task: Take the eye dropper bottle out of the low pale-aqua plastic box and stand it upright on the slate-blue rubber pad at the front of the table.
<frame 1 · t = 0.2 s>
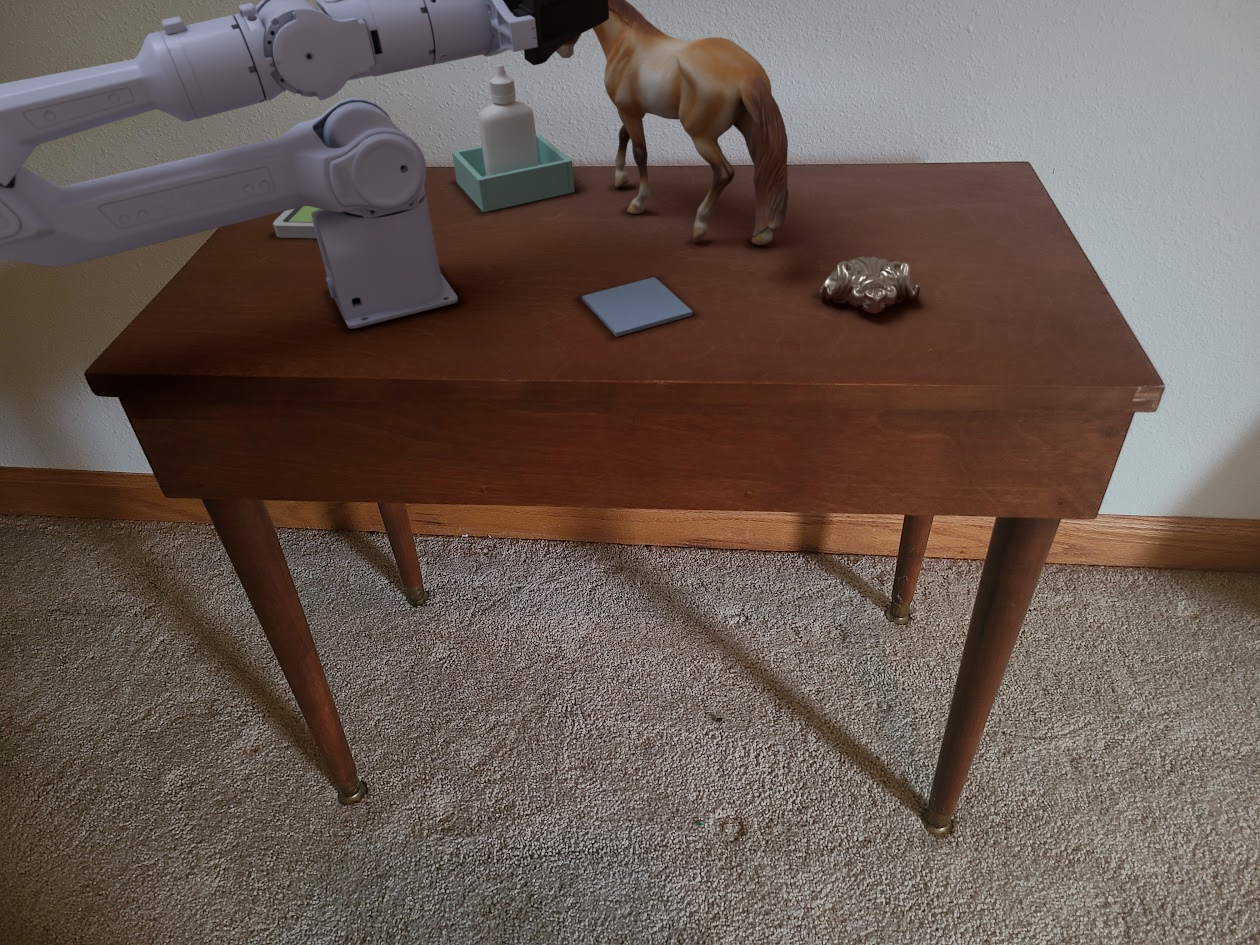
pad: (636, 307, 76), on the table
handheld gaming console: (349, 209, 95), on the table
horse figurine: (660, 234, 87), on the table
eye dropper bottle: (514, 185, 97), resting on box
box: (514, 187, 97), on the table
ornament: (867, 306, 75), on the table
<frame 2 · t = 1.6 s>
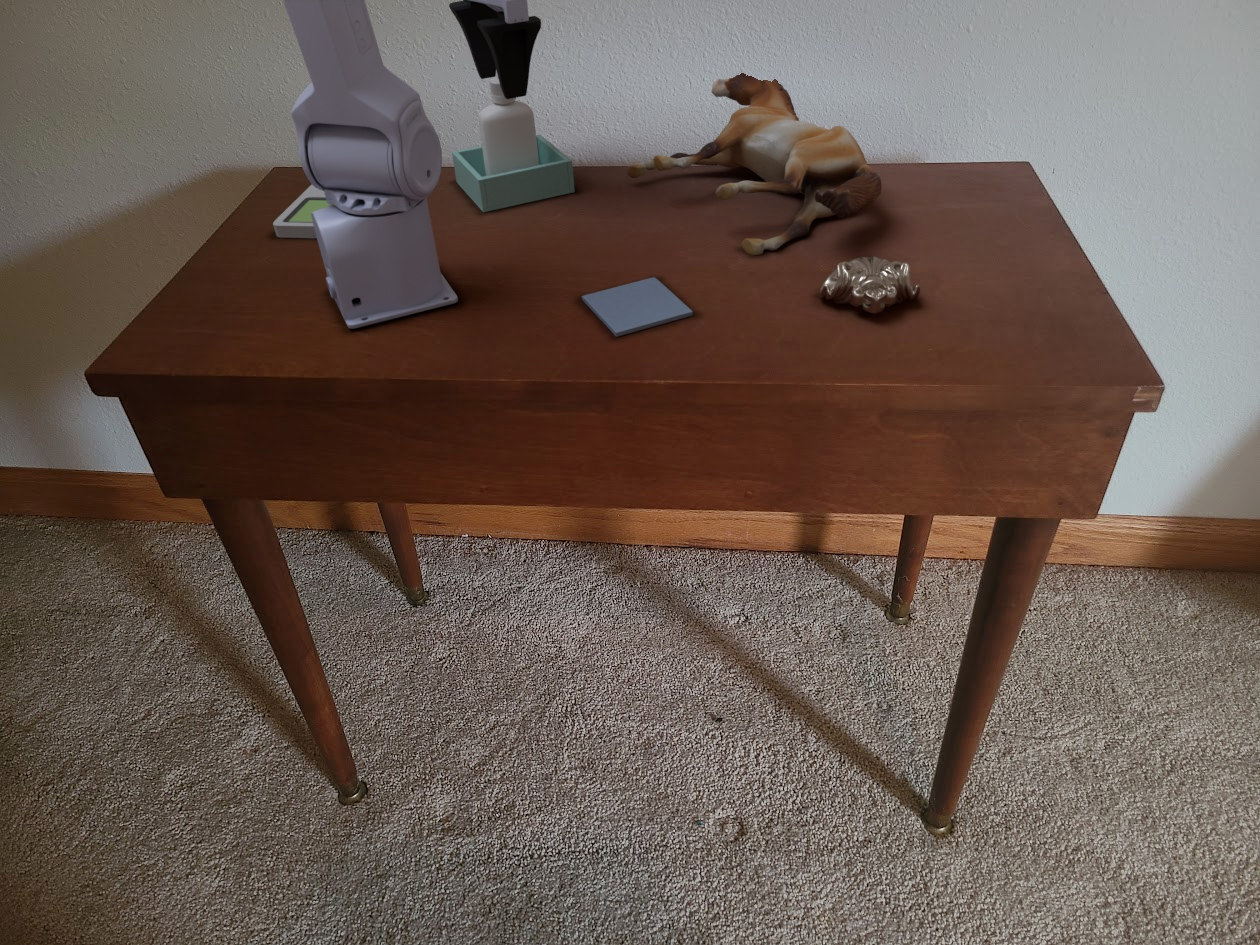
hand: (502, 86, 91), 10 cm above the table, tool pointing down, fingers open, 7 cm apart
horse figurine: (686, 168, 85), point 6 cm above the table
everything else where it was.
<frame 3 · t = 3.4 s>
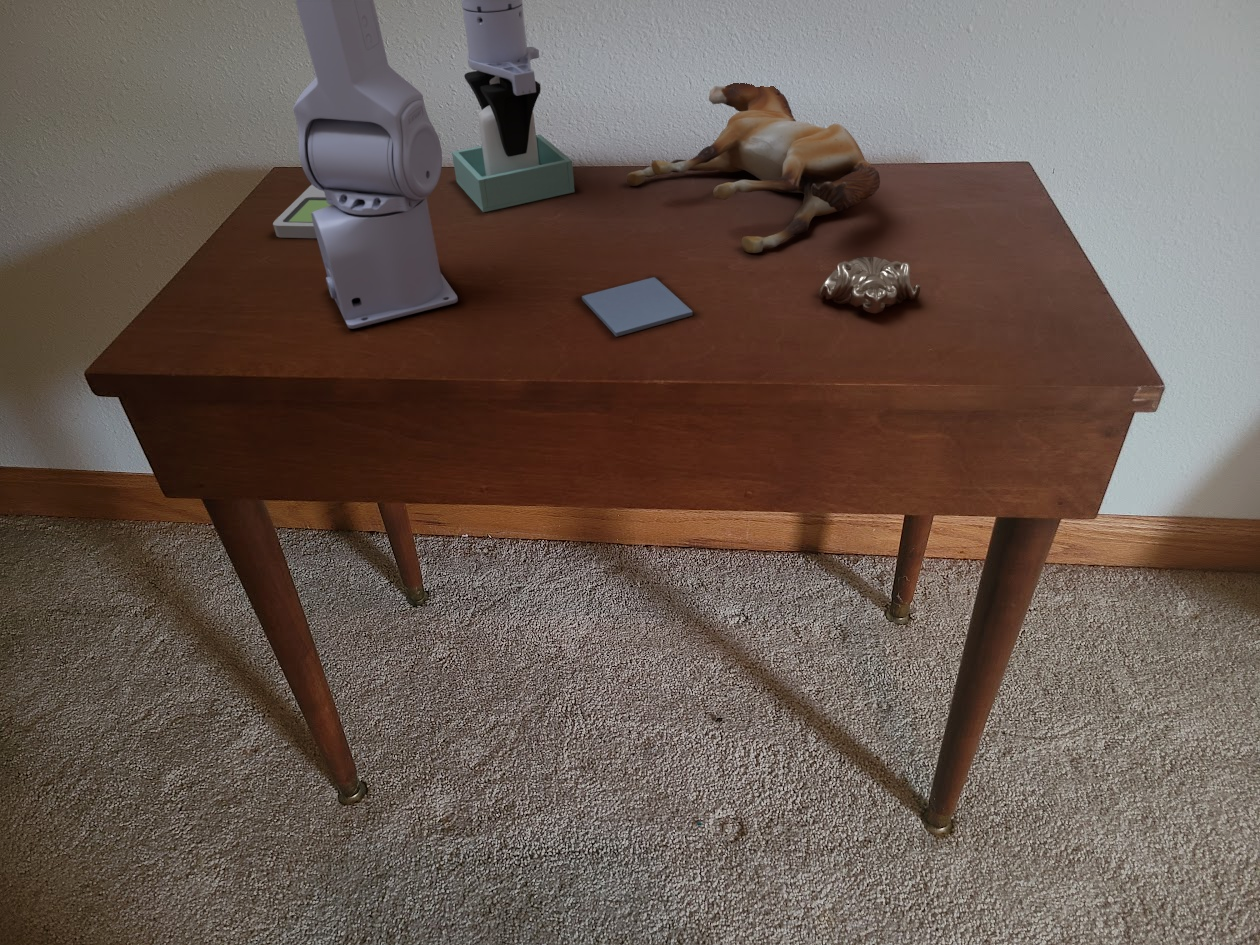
hand: (510, 148, 95), 4 cm above the table, tool pointing down, fingers closed on eye dropper bottle, 3 cm apart
eye dropper bottle: (514, 185, 97), resting on box, touching gripper
everything else where it was.
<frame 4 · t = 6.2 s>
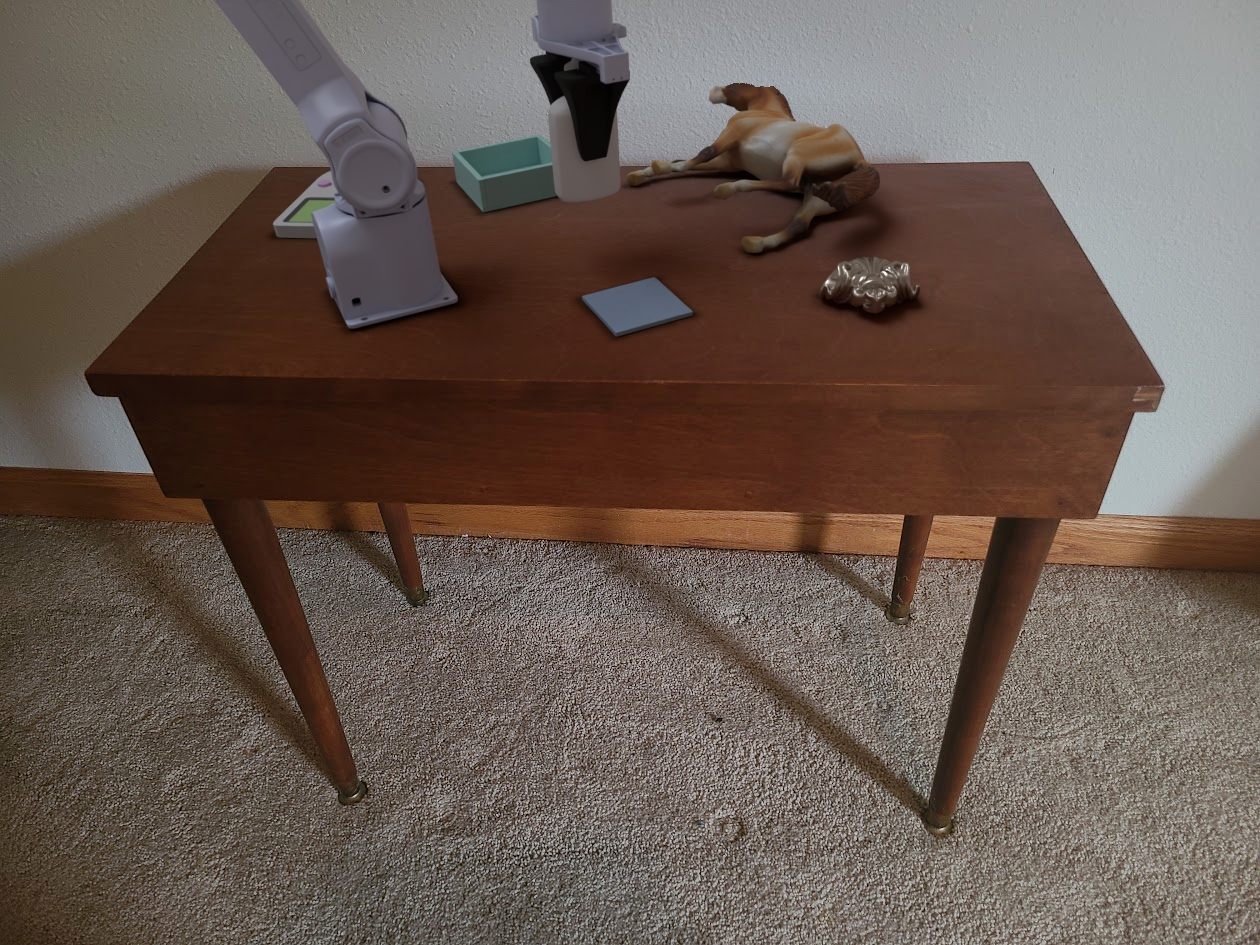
hand: (584, 150, 76), 10 cm above the table, tool pointing down, fingers closed on eye dropper bottle, 3 cm apart
eye dropper bottle: (588, 196, 79), point 6 cm above the table, touching gripper
everything else where it was.
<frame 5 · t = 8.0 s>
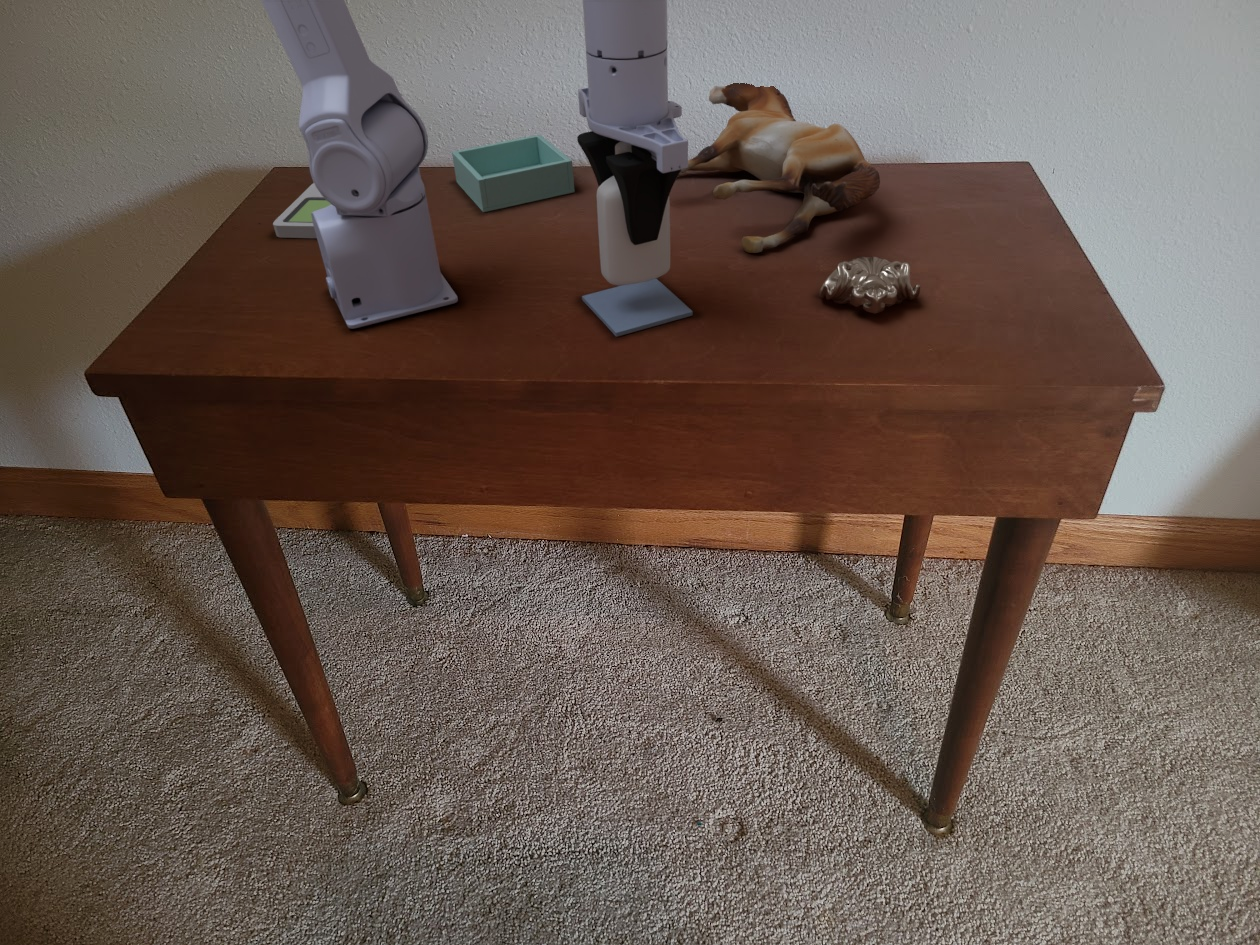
hand: (633, 231, 72), 7 cm above the table, tool pointing down, fingers closed on eye dropper bottle, 3 cm apart
eye dropper bottle: (636, 276, 74), point 3 cm above the table, touching gripper
everything else where it was.
when the fingers open (4 cm above the table, at t = 9.2 s): eye dropper bottle stays where it is, resting on pad.
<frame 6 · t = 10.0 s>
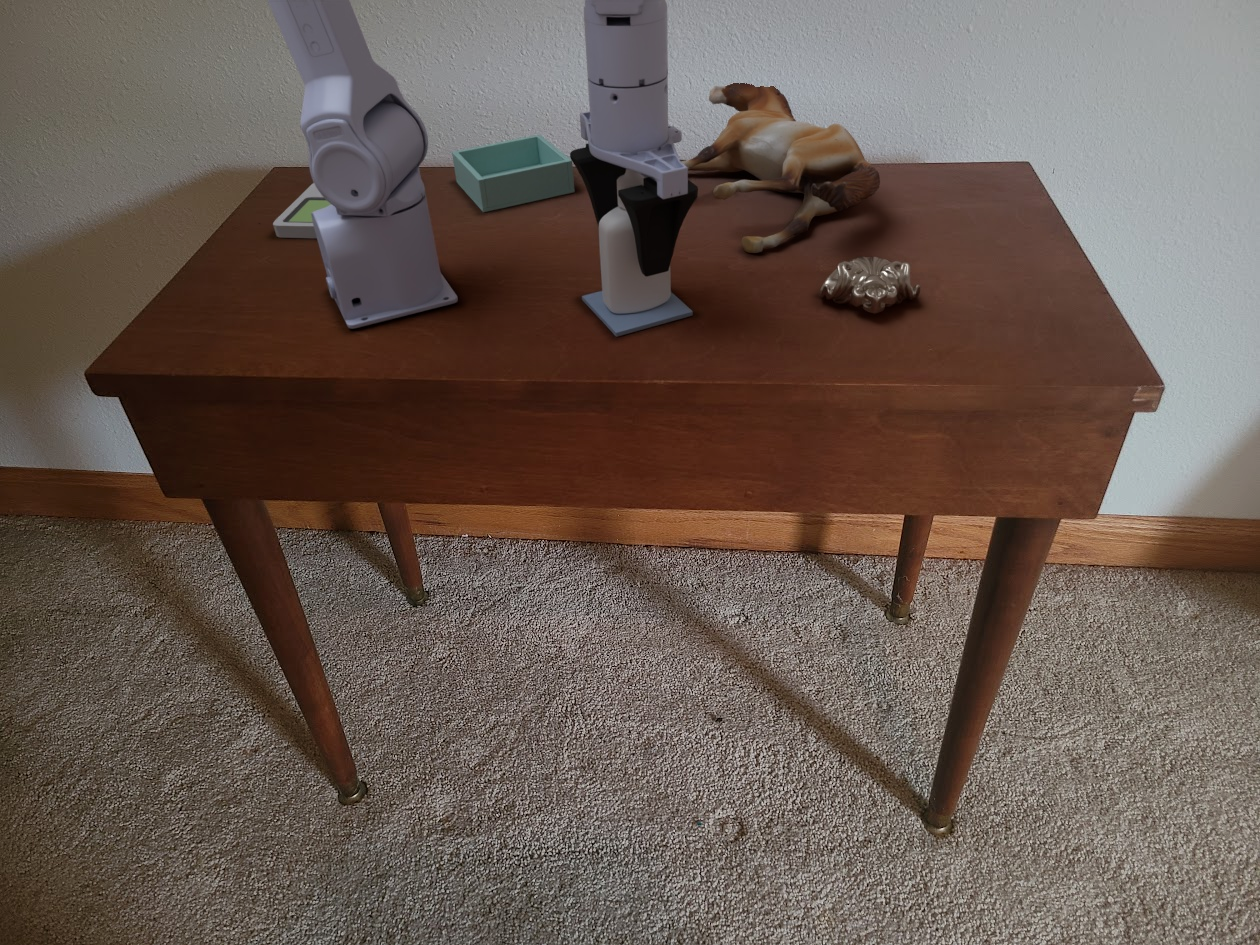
hand: (634, 252, 73), 5 cm above the table, tool pointing down, fingers open, 7 cm apart
eye dropper bottle: (637, 304, 76), resting on pad
everything else where it was.
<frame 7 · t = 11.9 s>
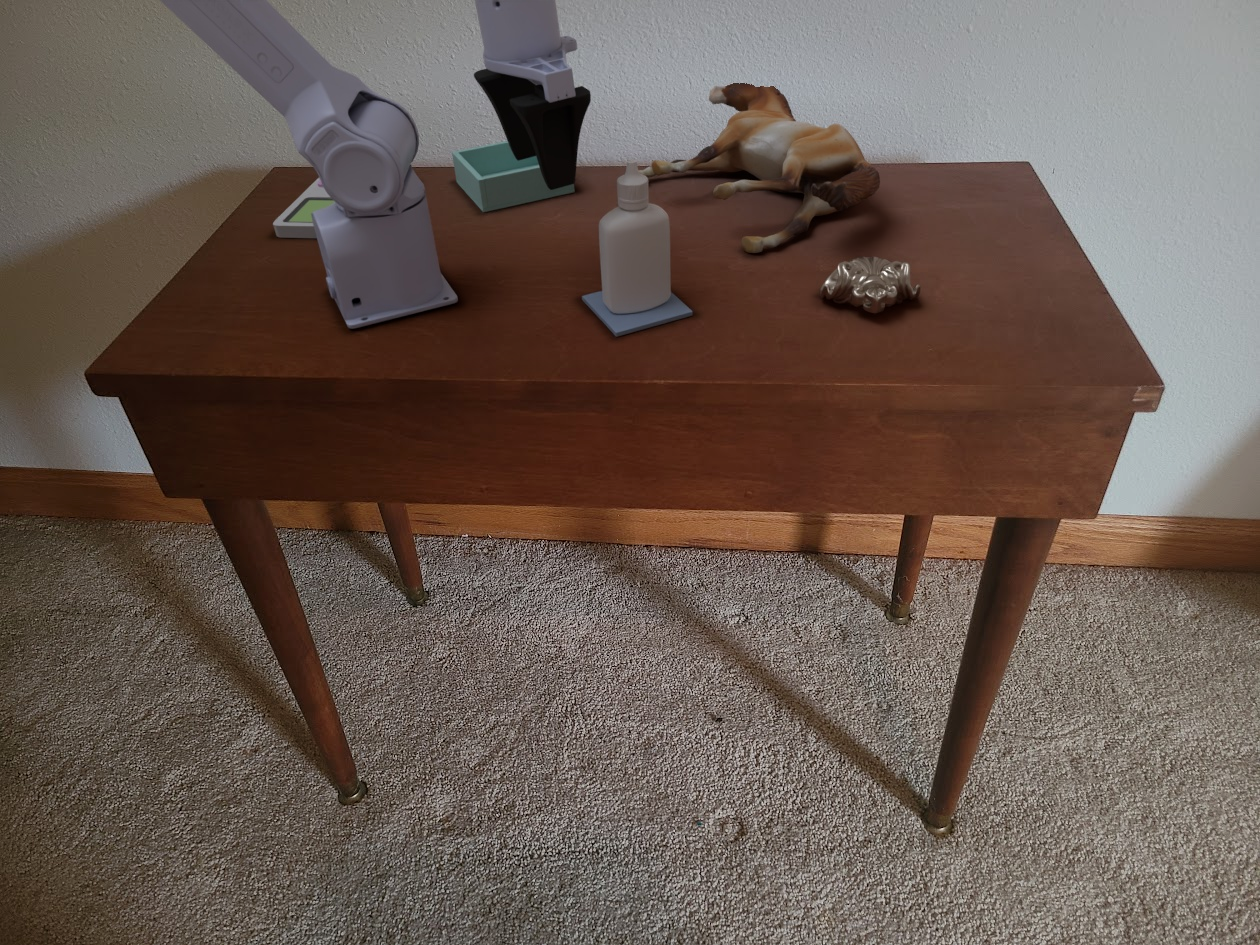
hand: (544, 170, 73), 10 cm above the table, tool pointing down, fingers open, 7 cm apart
nothing on the table moved.
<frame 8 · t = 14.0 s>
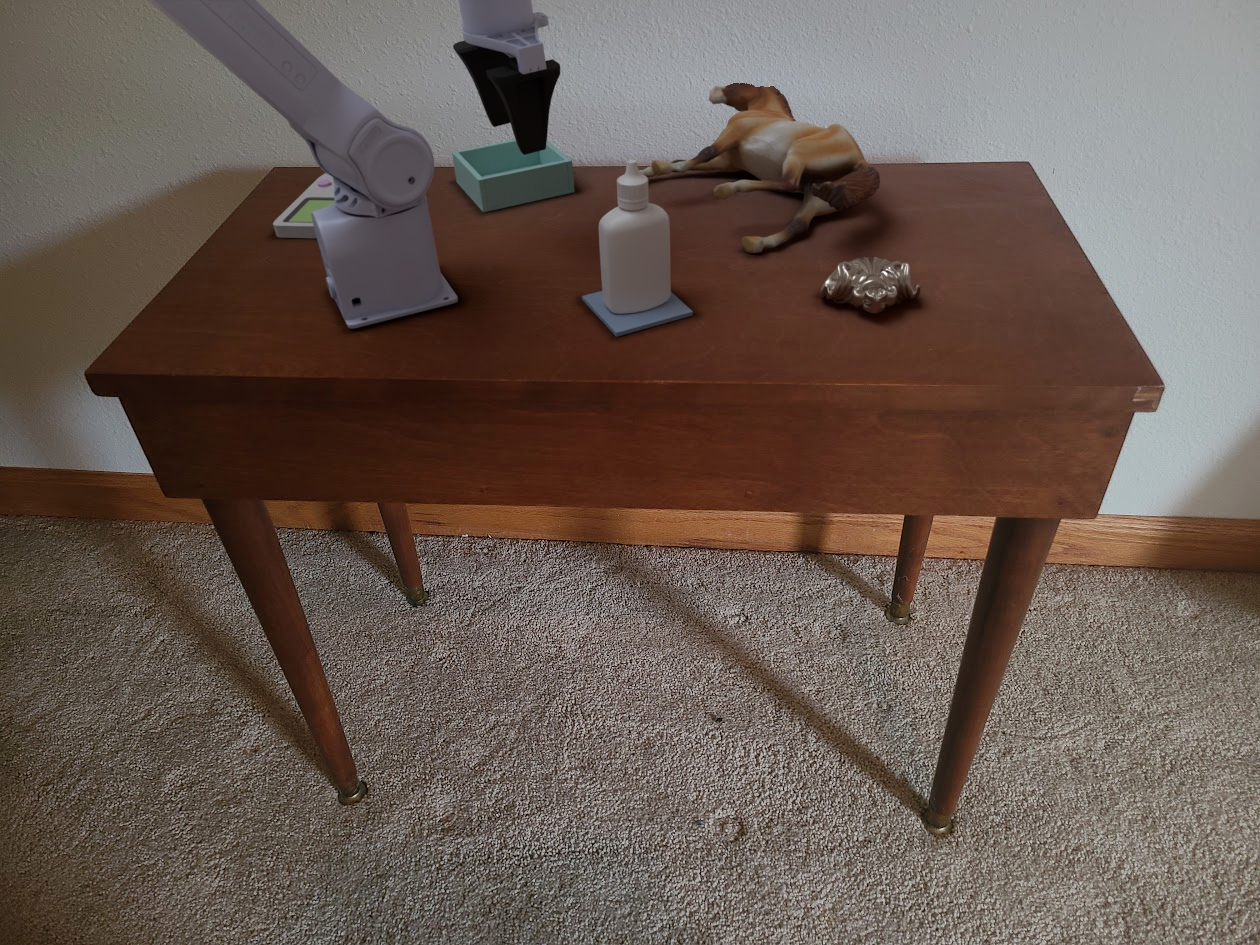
hand: (517, 136, 79), 10 cm above the table, tool pointing down, fingers open, 7 cm apart
nothing on the table moved.
at the end: eye dropper bottle inside the target area on the pad (0.1 cm from its centre), point 0.2 cm above the pad's base; eye dropper bottle tilted 0°; eye dropper bottle touching pad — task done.
